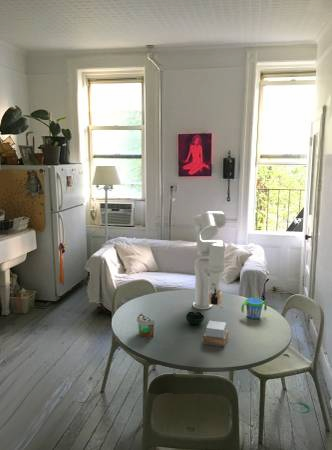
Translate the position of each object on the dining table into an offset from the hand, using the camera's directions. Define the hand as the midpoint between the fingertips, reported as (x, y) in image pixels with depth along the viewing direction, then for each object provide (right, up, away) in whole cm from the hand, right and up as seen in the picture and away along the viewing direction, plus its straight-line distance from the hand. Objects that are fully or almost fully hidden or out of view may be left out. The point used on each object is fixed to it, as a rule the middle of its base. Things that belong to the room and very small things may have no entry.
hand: (215, 301), depth 198 cm
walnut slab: (+1, -22, +5) cm, 22 cm away
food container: (-38, -20, +10) cm, 44 cm away
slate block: (+1, -17, +3) cm, 17 cm away
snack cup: (+27, -16, +33) cm, 46 cm away
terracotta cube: (0, -1, 0) cm, 1 cm away
